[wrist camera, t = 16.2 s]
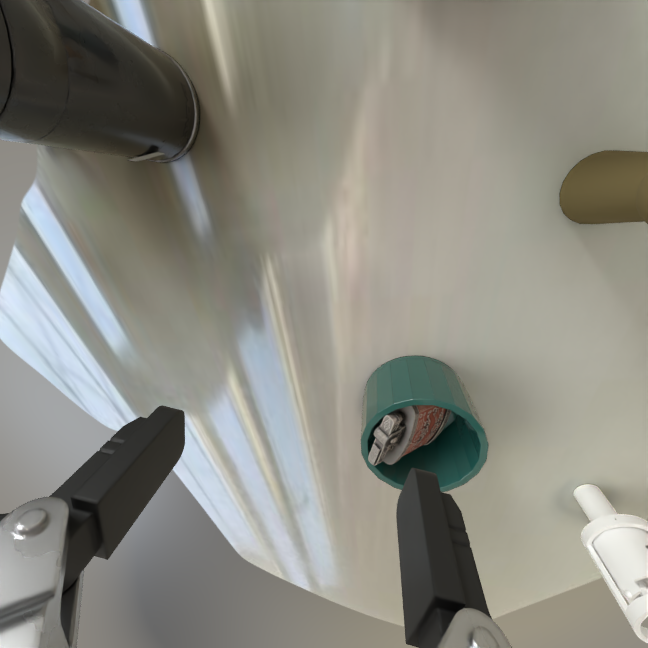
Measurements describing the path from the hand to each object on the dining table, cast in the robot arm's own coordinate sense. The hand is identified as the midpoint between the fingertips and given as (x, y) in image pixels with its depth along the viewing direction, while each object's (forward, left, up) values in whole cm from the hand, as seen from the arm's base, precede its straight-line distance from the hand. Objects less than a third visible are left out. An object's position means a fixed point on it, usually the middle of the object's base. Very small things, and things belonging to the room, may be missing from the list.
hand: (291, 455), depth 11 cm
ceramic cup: (+11, -14, -26) cm, 31 cm away
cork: (+20, +12, -26) cm, 35 cm away
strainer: (+36, -22, -26) cm, 49 cm away
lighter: (+14, -14, -24) cm, 31 cm away
